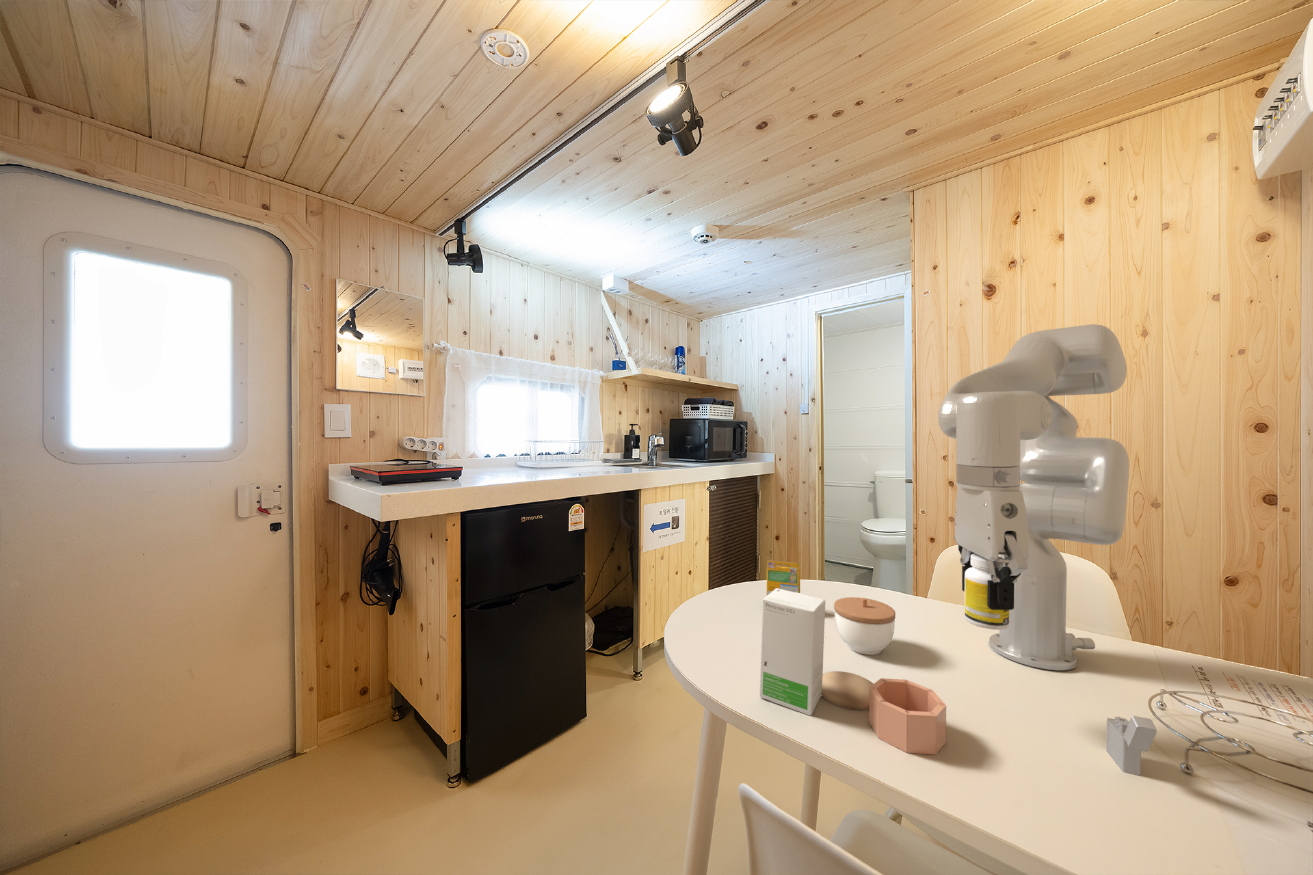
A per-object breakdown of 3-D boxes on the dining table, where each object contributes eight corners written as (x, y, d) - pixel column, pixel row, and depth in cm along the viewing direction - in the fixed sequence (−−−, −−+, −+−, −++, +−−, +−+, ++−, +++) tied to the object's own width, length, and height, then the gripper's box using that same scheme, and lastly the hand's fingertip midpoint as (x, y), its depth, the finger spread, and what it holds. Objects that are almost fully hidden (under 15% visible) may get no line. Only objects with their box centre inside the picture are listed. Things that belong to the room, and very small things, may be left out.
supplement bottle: (1011, 634, 64) (1012, 564, 63) (964, 625, 67) (965, 559, 66) (1007, 619, 68) (1007, 554, 68) (963, 611, 71) (963, 549, 71)
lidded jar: (881, 635, 93) (882, 589, 93) (905, 662, 82) (905, 610, 82) (827, 633, 94) (827, 587, 94) (843, 659, 83) (843, 608, 83)
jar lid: (866, 678, 77) (866, 672, 77) (888, 711, 68) (889, 704, 68) (811, 675, 78) (811, 669, 78) (826, 708, 69) (826, 701, 69)
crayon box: (800, 609, 106) (800, 559, 106) (799, 614, 103) (799, 563, 103) (768, 605, 109) (768, 556, 108) (766, 610, 106) (766, 560, 106)
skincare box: (758, 698, 71) (759, 598, 71) (773, 679, 77) (773, 586, 76) (813, 717, 67) (814, 610, 66) (825, 695, 72) (826, 596, 72)
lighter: (1105, 749, 60) (1106, 689, 60) (1123, 753, 59) (1124, 692, 59) (1135, 788, 53) (1137, 720, 53) (1156, 793, 53) (1157, 724, 52)
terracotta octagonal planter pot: (923, 714, 67) (923, 680, 67) (956, 755, 59) (956, 716, 59) (862, 710, 68) (863, 677, 68) (886, 751, 59) (886, 713, 59)
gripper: (1061, 485, 58) (1060, 627, 58) (978, 470, 75) (978, 579, 76) (998, 486, 58) (997, 626, 59) (930, 470, 75) (930, 579, 76)
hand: (986, 598), depth 67 cm, fingers closed on supplement bottle, 5 cm apart
